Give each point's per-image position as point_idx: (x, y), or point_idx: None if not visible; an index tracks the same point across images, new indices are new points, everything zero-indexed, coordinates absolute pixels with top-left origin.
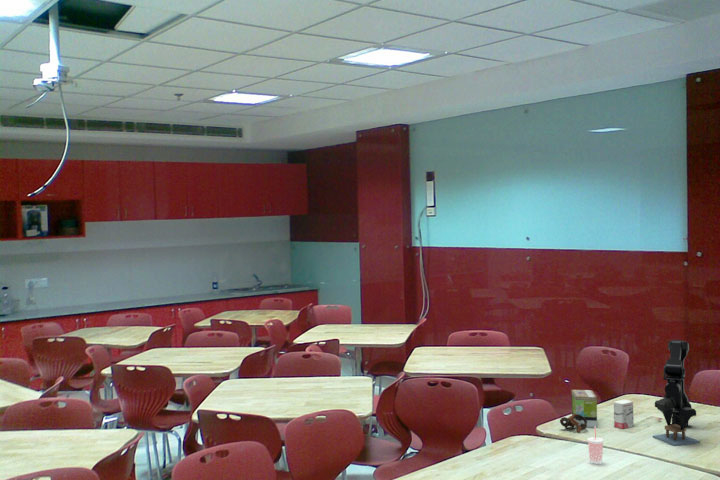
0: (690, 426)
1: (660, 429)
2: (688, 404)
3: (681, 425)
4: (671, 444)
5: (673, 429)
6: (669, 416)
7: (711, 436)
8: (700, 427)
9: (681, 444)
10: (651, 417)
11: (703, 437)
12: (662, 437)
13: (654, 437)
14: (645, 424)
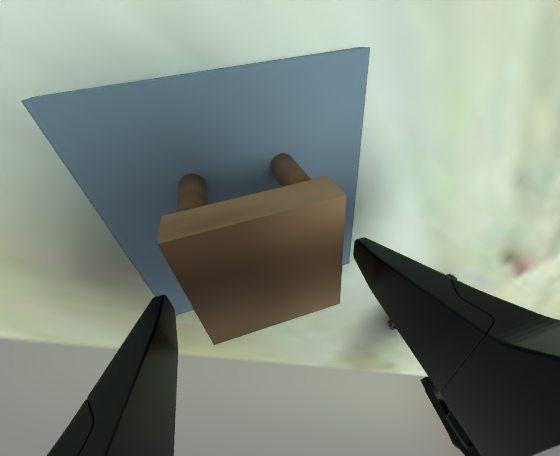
0: (390, 327)
1: (446, 214)
2: (468, 453)
3: (116, 358)
4: (81, 90)
5: (184, 231)
6: (422, 335)
7: (268, 357)
8: (372, 345)
9: (89, 189)
10: (551, 248)
11: (262, 335)
12: (290, 115)
13: (340, 51)
14: (541, 180)
